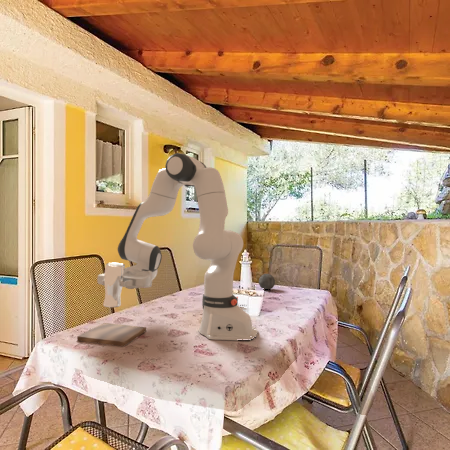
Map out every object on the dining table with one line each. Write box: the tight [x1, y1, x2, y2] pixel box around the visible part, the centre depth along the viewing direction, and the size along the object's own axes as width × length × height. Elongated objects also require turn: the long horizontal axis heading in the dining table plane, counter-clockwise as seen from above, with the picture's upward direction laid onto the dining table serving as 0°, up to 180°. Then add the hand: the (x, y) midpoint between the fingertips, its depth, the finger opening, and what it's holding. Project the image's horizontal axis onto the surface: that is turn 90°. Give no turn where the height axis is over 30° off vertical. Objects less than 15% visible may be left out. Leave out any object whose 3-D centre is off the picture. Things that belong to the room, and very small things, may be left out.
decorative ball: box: [258, 273, 276, 290], centre depth 209 cm, size 10×10×10 cm
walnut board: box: [76, 322, 147, 347], centre depth 122 cm, size 18×16×2 cm
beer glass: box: [103, 262, 126, 309], centre depth 122 cm, size 7×7×15 cm
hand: (112, 283), depth 121 cm, fingers closed on beer glass, 6 cm apart
